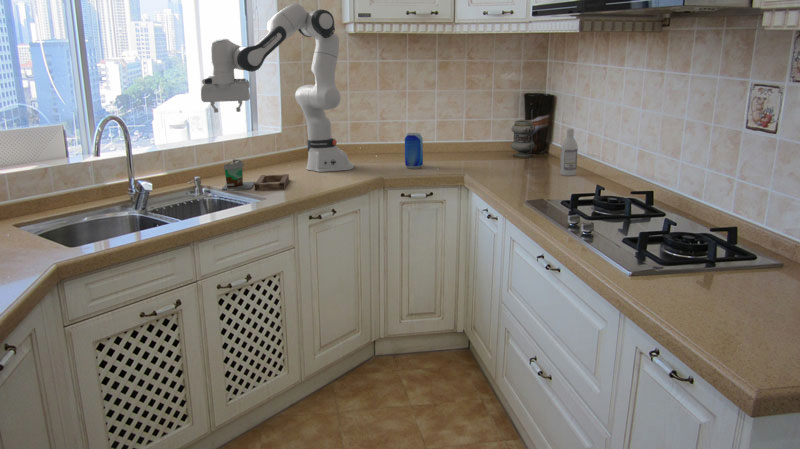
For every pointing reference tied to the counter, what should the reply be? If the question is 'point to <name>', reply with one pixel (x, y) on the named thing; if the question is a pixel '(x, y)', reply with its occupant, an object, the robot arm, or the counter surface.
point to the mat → (245, 186)
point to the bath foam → (568, 155)
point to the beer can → (413, 150)
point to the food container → (234, 173)
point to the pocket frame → (282, 184)
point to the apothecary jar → (523, 138)
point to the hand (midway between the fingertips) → (227, 112)
